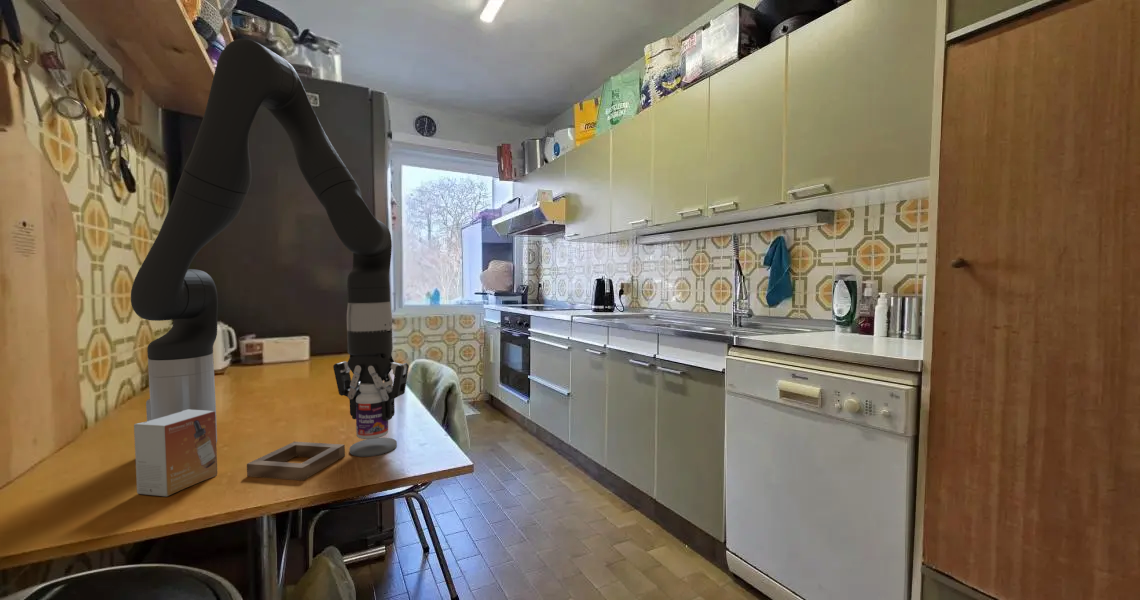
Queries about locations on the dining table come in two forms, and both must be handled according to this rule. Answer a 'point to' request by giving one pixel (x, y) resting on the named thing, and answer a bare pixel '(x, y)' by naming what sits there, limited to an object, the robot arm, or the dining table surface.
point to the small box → (175, 452)
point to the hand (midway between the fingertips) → (372, 418)
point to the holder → (280, 469)
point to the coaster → (373, 447)
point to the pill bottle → (369, 413)
